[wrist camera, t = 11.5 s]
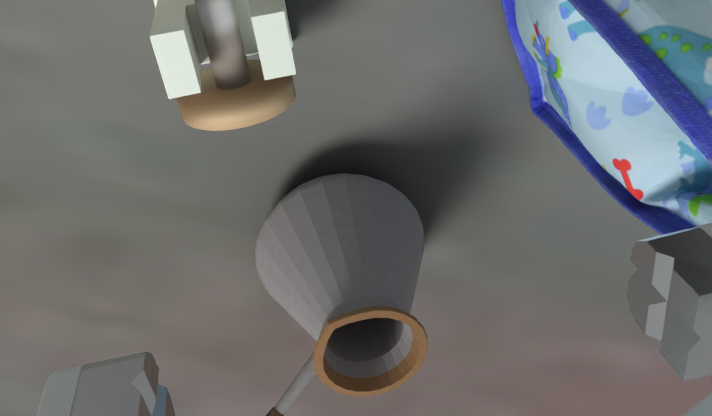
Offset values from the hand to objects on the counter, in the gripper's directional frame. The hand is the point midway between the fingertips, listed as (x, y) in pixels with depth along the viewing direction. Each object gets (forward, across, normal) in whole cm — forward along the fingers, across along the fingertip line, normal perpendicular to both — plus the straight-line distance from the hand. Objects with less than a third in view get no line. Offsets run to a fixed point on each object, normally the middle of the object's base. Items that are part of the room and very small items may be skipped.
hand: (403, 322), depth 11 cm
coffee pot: (+31, +3, +22) cm, 38 cm away
